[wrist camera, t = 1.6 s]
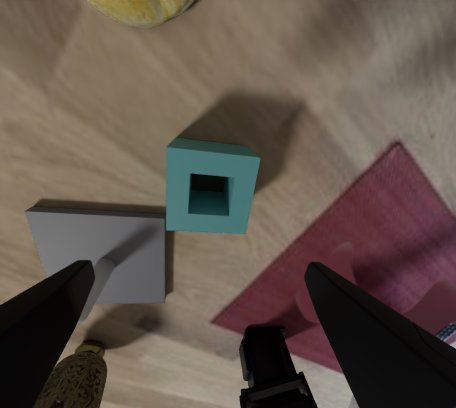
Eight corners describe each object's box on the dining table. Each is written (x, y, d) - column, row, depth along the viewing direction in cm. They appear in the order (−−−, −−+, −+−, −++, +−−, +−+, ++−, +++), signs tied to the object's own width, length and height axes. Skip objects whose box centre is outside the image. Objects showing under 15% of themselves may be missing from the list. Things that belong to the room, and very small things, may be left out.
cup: (62, 359, 28) (14, 444, 21) (63, 327, 25) (9, 412, 18) (117, 362, 30) (91, 441, 23) (124, 332, 27) (96, 411, 20)
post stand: (166, 214, 20) (148, 264, 14) (166, 296, 25) (153, 362, 19) (33, 206, 18) (-63, 260, 12) (61, 296, 23) (5, 371, 17)
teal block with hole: (246, 146, 18) (260, 157, 14) (236, 207, 21) (245, 233, 16) (175, 137, 17) (166, 147, 13) (174, 203, 20) (166, 230, 15)
